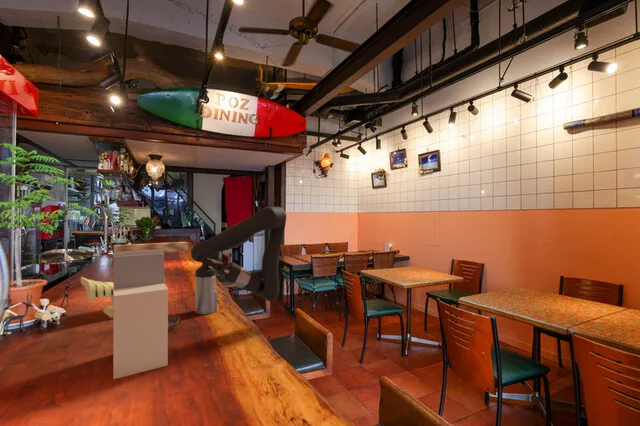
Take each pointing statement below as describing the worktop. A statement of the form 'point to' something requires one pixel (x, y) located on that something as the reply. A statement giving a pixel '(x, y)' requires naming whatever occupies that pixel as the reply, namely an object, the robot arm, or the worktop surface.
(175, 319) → the plant saucer
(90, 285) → the slatted curved stool
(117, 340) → the stepped stand
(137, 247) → the maple bar
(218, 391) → the worktop surface
